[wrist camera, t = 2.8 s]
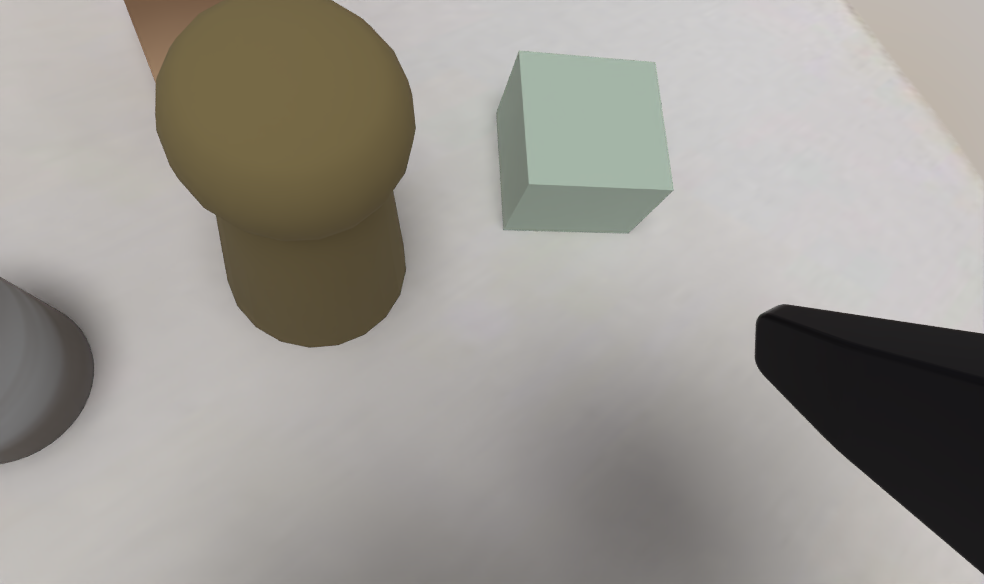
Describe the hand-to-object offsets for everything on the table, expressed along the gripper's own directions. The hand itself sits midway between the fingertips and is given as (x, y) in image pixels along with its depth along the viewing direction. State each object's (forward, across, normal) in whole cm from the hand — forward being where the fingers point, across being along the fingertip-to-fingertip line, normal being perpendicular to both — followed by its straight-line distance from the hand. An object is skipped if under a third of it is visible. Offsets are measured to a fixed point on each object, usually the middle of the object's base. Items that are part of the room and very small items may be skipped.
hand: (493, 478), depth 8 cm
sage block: (+15, -10, +4) cm, 19 cm away
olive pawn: (+15, 0, +4) cm, 16 cm away
